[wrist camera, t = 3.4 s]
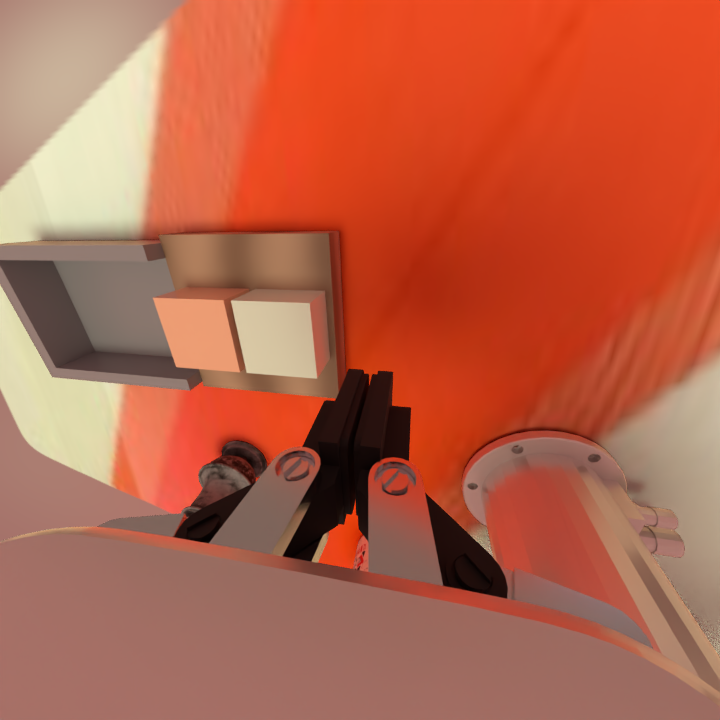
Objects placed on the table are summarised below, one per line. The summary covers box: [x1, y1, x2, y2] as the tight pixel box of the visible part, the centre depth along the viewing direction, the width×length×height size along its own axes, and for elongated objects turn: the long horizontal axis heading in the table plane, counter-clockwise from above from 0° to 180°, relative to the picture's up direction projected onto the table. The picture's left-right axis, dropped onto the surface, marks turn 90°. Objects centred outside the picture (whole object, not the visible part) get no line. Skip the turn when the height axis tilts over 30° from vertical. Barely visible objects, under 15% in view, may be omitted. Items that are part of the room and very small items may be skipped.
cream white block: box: [231, 289, 330, 379], centre depth 20 cm, size 5×5×3 cm
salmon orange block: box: [153, 287, 250, 372], centre depth 21 cm, size 5×5×3 cm
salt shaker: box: [181, 441, 267, 517], centre depth 27 cm, size 6×6×12 cm
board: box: [159, 231, 346, 398], centre depth 23 cm, size 12×12×2 cm
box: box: [0, 240, 202, 390], centre depth 24 cm, size 14×11×4 cm
